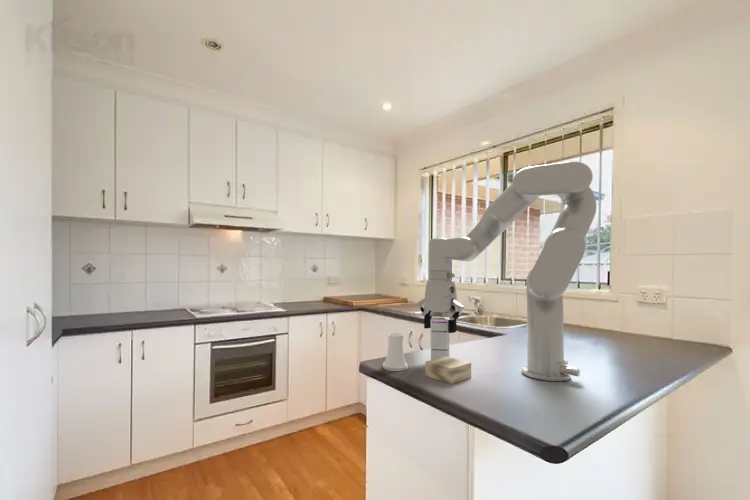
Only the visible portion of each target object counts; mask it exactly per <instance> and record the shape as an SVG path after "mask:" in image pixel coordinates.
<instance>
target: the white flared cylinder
mask: <svg viewBox="0 0 750 500" xmlns="http://www.w3.org/2000/svg"><path fill="white" fill-rule="evenodd" d="M387 338H388V346H387V354H386V358H385V360H384V362H382V365H383V366H382V369H384V370H385V371H386V370H387V371H392V372H402V371H406V370H408V369H409V364H408V363H407V361H406V358H405V355H404V346H403V345H404V344H403V343H404V334H403V333H399V332H398V333H397V332H391V333H388V334H387Z"/></svg>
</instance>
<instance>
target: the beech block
mask: <svg viewBox="0 0 750 500" xmlns="http://www.w3.org/2000/svg"><path fill="white" fill-rule="evenodd" d="M424 365H425V372H424V373H425V377H428V378H431V379H434V380H437V381H441V382H445V383H448V384H450V385H453V384H455V383H458V382H462V381H464V380H467V379H470V378H472V362H469V361H465V360H461V359H456V358H452V357H450V358H449V357H442V358H438V359H434V360H431V359H430V360H426V361H425V364H424Z"/></svg>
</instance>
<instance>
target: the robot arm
mask: <svg viewBox="0 0 750 500" xmlns="http://www.w3.org/2000/svg"><path fill="white" fill-rule="evenodd" d="M592 182H593V171H592V169H591V168H590V167H589V166H588V165H587V164H586V163H584V162H581V161H565V162H557V163H550V164H542V165H540V164H539V165H533V166H527V167H524V168H522V169H520V170H519V171H517V172H516V173H515V174H514V176H513V178H512V183H510V184H509V185H508V186H507V187H506V189H504V191H502V193H501V194H499V195H498V196H497V197H496V199H495V200H494V201H493V202H491V203H490V204H489V205H488V206H487V207H486V209H485V211H484V213H483V214H482V217H481V218H480V220H479V221H478V222H477V224H476V225H475V226H474V228H473V229H471V230H470V232H469V233H468V234H467V235H465V236H460V237H459V236H458V237H457V236H456V237H450V238H447V237H435V238H431V239H430V240H429V241H428V280H426V286H425V291H424V293H425V294H424V298H423V299H421V300H419V301H418V302H417V303H418V306H419V310H420V311H421V313H422V316H423V320H424V321H423V328H424V329H431V321H430V320H431V318H432V317H433V315H431V314H432V313H433V312H434V313H440V314H446V315H447V317H448V318H449V320H448V332H449V334H454V333H456V332H457V322H458V321H457V320H459V318H460V317H461V316H462V314H463V311H464V308H465V307H464V305H462V304H461V303H460V302H458V297H457V296H458V295H457V288H456V284H455V281H453V279H454V278H455V275H456V274H455V273H453V261H460V262H471V261H473V260H475V259H476V258H477V257H479V256H480V254H482V253H483V252H484V251H485V250H486V249H487V248H488V247H489V246H490V245H491V244H492V243H493V242H494V241H495V240H496V239H497V238H498V237H499V236H500V235H501V234H503V232H504V231H506V229H507V228H508V227H509V226H511V224H512V223H514V221H516V219H518V218H519V216H521V215H522V214H523V213H524V212H525V211H526V210H527V209H528V208H529V207H530V206H531V205H532V204H533V203H535V201H536V200H537V199H539V197H540V196H552V195H557V196H558V197H559V199H561V202H562V203H561V204H562V208H561V211H560V212H559V214H558V217H557V219H556V221H555V224H554V226H553V228H552V230H551V232H550V233H549V235H547V238H546V239H545V241H544V245H543V247H542V250H541V252H540V254H539V256H538V257H537V259H536V260H535V261H536V262H535V264H534V265H533V268H531V270H529V272H528V274H527V276H526V281H525V282H526V285H525V286H526V313H527V315H526V327H527V328H526V332H527V333H526V334H527V336H526V341H527V342H526V345H527V353H526V354H527V355H526V357H527V361H526V362H527V365H525V366H522V368H521V372H522V374H523V375H525V376H526V377H529V378H533V379H536V380H541V381H546V382H547V381H549V382H564V381H568V380H570V379H571V376H573V377H579V376H580V372H581V371H580V369H579V368H578V367H576V366H570V365H569V364H568V362H569V361H568V360H565V357H564V356H565V353H564V351H565V350H564V346H565V345H564V344H565V343H564V340H565V339H564V323H565V322H564V319H565V318H564V297H563V296H564V295H563V294H564V293H565V291H566V290H567V288H568V286H569V285H570V283H571V281H572V279H573V277H574V275H575V273H576V271H577V269H578V267H579V265H580V264H581V262H582V260H583V257H584V255H585V252H586V246H587V245H586V240H585V238H586V236H587V234H588V233H589V230H590V228H591V226H592V223H593V221H594V219H595V215H596V212H597V200H596V196H595V194H594V192H593V190H592V188H591V187H590V185H591V184H592Z"/></svg>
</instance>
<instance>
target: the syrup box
mask: <svg viewBox="0 0 750 500" xmlns="http://www.w3.org/2000/svg"><path fill="white" fill-rule="evenodd" d="M448 320H450V318H449V317H448V316H447V317H446V316H445V317H444V316H432V318H431V320H430V321H431V328H430V360H434V359H438V358H442V357H449V358H451V356H450V354H451V353H450V333H449V332H448Z"/></svg>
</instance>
